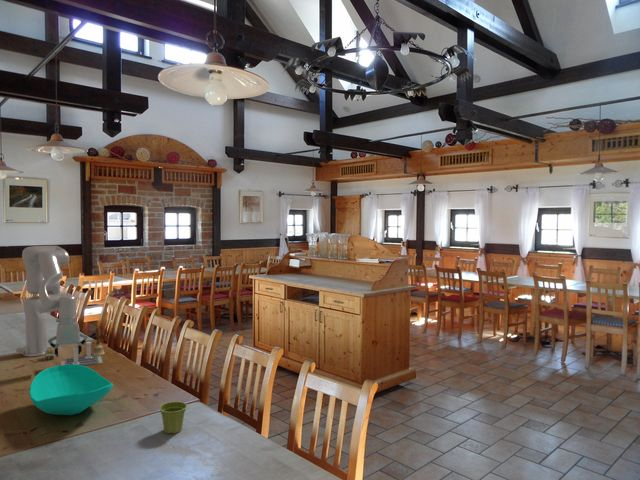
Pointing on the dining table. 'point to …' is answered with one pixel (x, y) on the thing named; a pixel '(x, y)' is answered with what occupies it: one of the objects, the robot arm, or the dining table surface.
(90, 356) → the handle
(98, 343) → the hand bell
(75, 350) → the handle
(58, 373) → the table top decor
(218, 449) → the dining table surface
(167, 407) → the plant pot
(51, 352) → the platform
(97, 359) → the panel
